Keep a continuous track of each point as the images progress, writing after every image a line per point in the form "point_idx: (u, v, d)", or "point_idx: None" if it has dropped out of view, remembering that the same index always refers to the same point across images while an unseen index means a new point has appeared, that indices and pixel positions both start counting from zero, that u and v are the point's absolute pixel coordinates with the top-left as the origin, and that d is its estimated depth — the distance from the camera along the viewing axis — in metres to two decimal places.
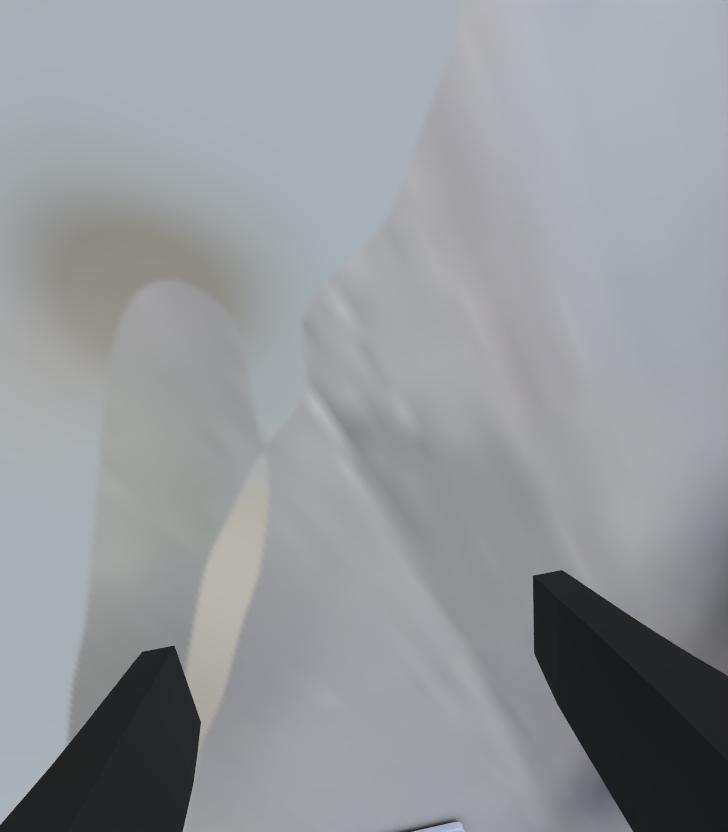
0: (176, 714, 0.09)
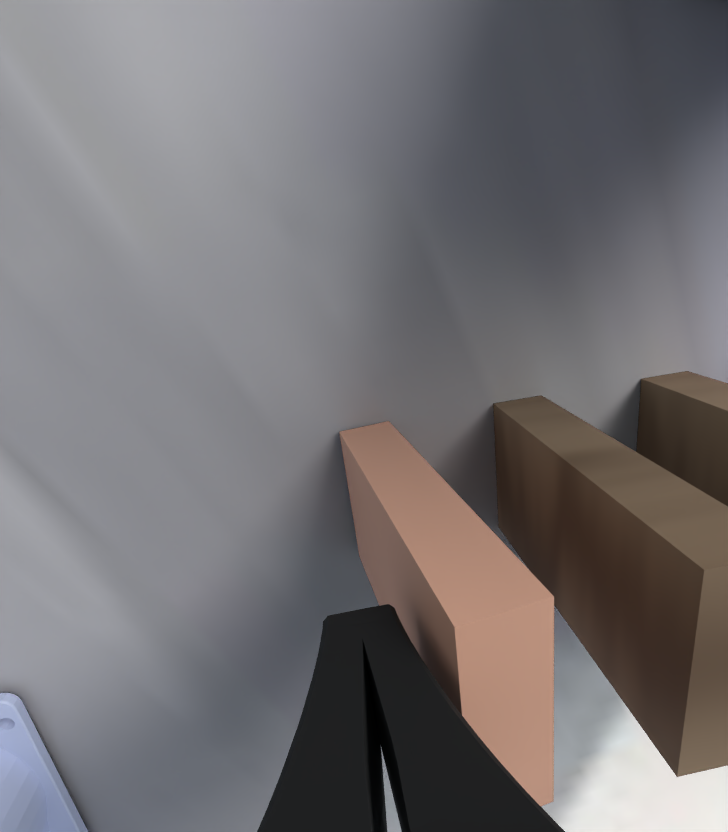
0: None
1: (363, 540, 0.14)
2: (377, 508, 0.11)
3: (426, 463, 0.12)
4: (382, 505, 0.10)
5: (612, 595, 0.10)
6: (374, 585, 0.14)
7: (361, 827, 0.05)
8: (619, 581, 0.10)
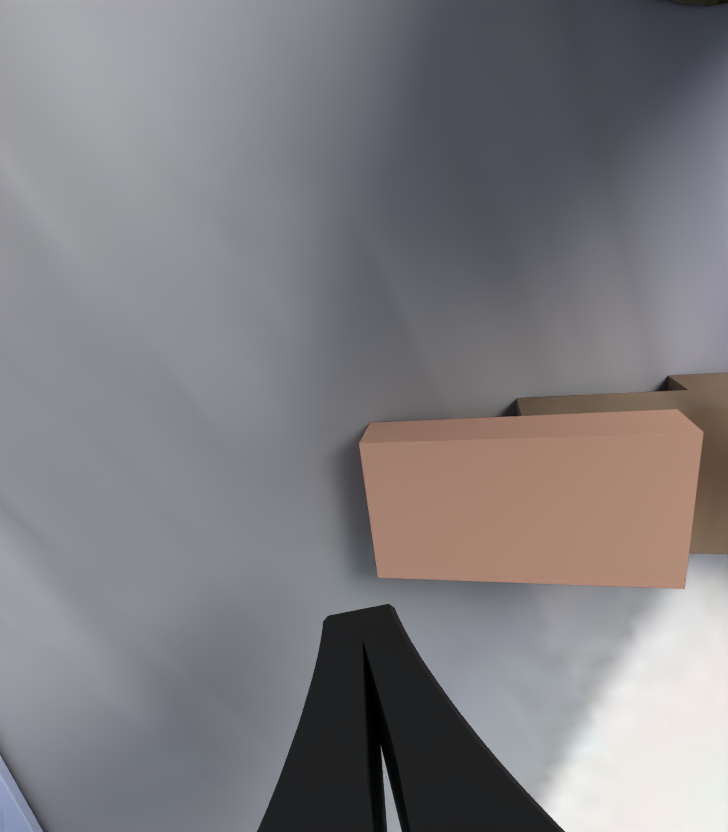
0: None
1: (420, 535, 0.14)
2: (515, 452, 0.13)
3: (478, 420, 0.14)
4: (538, 438, 0.12)
5: None
6: (447, 567, 0.14)
7: (361, 827, 0.05)
8: None
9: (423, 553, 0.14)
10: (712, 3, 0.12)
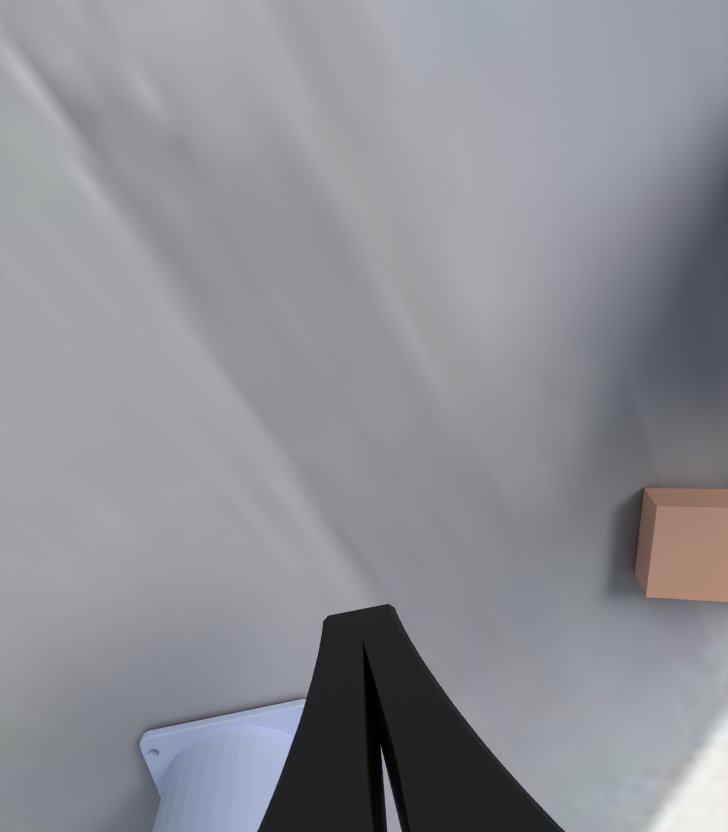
0: None
1: (687, 569, 0.20)
2: None
3: None
4: None
5: None
6: (703, 591, 0.20)
7: (361, 827, 0.05)
8: None
9: (686, 581, 0.20)
10: None
